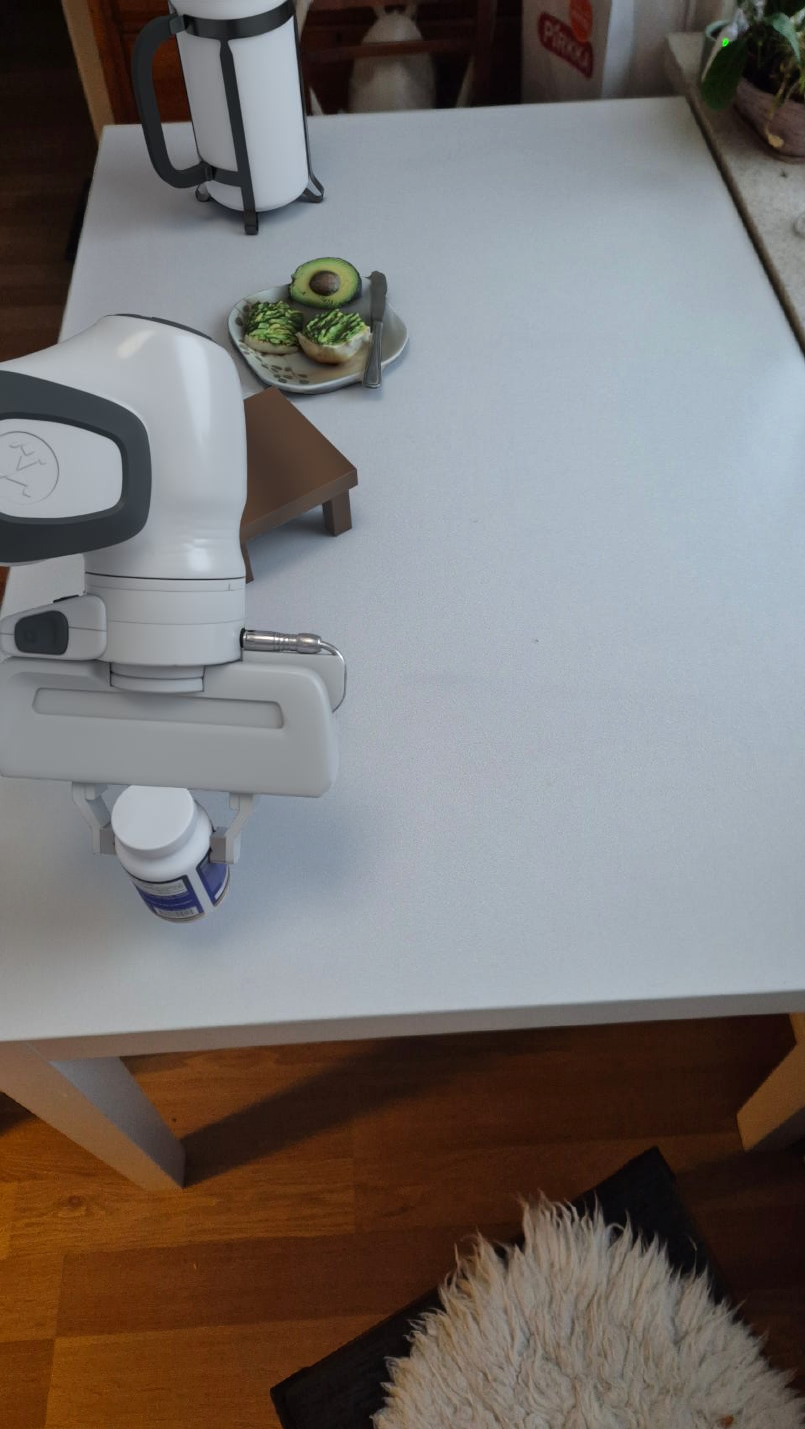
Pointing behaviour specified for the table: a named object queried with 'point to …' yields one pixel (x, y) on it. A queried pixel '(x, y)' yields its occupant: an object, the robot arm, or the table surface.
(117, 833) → the pill bottle
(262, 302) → the avocado toast plate
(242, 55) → the coffee press
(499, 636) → the table surface
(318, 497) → the stand
